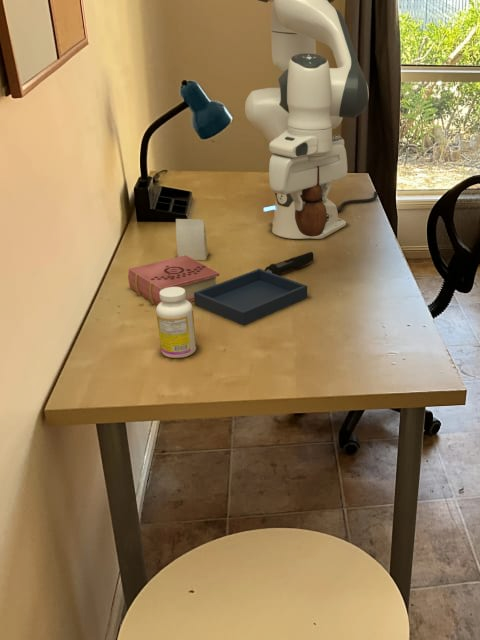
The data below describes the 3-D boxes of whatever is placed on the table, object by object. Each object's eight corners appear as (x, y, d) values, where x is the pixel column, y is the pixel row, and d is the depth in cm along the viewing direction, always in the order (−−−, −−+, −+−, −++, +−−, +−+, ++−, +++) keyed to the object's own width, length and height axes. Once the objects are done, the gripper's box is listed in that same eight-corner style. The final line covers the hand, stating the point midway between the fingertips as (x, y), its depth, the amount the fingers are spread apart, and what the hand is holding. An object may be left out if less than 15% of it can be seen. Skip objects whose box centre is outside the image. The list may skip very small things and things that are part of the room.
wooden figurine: (331, 235, 161) (331, 166, 154) (310, 241, 157) (309, 170, 150) (312, 227, 165) (311, 159, 158) (290, 232, 161) (289, 163, 154)
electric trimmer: (317, 264, 191) (317, 253, 190) (272, 280, 180) (272, 268, 179) (307, 261, 193) (306, 249, 192) (261, 276, 182) (261, 264, 181)
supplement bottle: (175, 341, 150) (169, 281, 144) (203, 348, 148) (198, 288, 142) (153, 355, 145) (146, 294, 139) (182, 362, 143) (176, 301, 137)
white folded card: (205, 260, 190) (202, 222, 185) (178, 259, 189) (174, 221, 185) (207, 254, 193) (204, 217, 189) (180, 254, 192) (177, 216, 188)
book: (127, 290, 171) (125, 269, 169) (187, 274, 181) (185, 255, 179) (159, 310, 162) (157, 289, 160) (220, 292, 172) (219, 272, 170)
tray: (259, 280, 180) (259, 268, 179) (307, 297, 172) (307, 285, 171) (194, 305, 166) (193, 292, 164) (243, 325, 158) (243, 312, 157)
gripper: (332, 130, 161) (332, 193, 167) (262, 145, 146) (265, 213, 152) (354, 135, 158) (353, 199, 164) (286, 150, 143) (287, 220, 149)
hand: (310, 206), depth 158 cm, fingers closed on wooden figurine, 5 cm apart
